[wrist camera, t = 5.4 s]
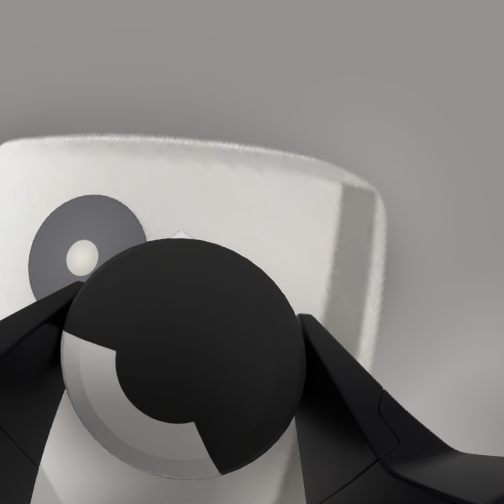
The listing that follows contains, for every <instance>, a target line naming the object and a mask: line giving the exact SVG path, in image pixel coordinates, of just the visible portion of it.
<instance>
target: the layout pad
mask: <svg viewBox="0 0 504 504" xmlns="http://www.w3.org/2000/svg"><path fill="white" fill-rule="evenodd" d="M145 242H146V238H145V234H144V231H143V229H142V226H141V225H140V223H139V221H138V219H137V218H136V216H135V215H134V214H133V212H132V211H131V210H130V209H129V208H128V207H127V206H125V205H124V204H122V203H121V202H119V201H117V200H115V199H113V198H110V197H107V196H102V195H85V196H81V197H77V198H74V199H72V200H69V201H68V202H66V203H64V204H62V205H61V206H59V207H58V208H57V209H55V210H54V211H53V212H52V213H51V214H50V215H49V216H48V217H47V218H46V220H45V221H44V222H43V224H42V225H41V227H40V228H39V230H38V232H37V234H36V236H35V238H34V240H33V243H32V246H31V250H30V255H29V264H28V270H29V280H30V285H31V289H32V291H33V294H34V296H35V298H36V300H37V301H38V300H40V299H42V298H44V297H46V296H48V295H50V294H52V293H54V292H56V291H58V290H60V289H62V288H64V287H66V286H68V285H70V284H72V283H74V282H76V281H83V282H86V280H87V279H88V278H89V277H90V276H91V275H92V273H93V272H94V271H96V270H97V269H98V268H99V267H100V266H101V265H102V264H104V263H105V262H106V261H107V260H109V259H111V258H112V257H114V256H115V255H117V254H118V253H120V252H122V251H124V250H126V249H128V248H131V247H133V246H135V245H139V244H142V243H145Z"/></svg>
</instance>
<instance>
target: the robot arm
mask: <svg viewBox="0 0 504 504" xmlns="http://www.w3.org/2000/svg"><path fill="white" fill-rule="evenodd" d="M84 283H85V282H83V281H76V282H74V283H72V284H70V285H68V286H66V287H64V288H62V289H60V290H58V291H56V292H54V293H52V294H50V295H48V296H46V297H44V298H42V299H40V300H38V301H36V302H34V303H32V304H30V305H29V306H27V307H25V308H23V309H21V310H19V311H17V312H15V313H14V314H12V315H10V316H8V317H6V318H4V319H2V320H1V321H0V504H30V502H31V498H32V493H33V489H34V485H35V481H36V477H37V473H38V470H39V468H38V467H39V466H40V462H41V459H42V455H43V452H44V448H45V445H46V442H47V439H48V436H49V433H50V430H51V427H52V424H53V421H54V418H55V415H56V412H57V409H58V407H59V404H60V401H61V399H62V396H63V393H64V391H65V388H66V387H65V383H64V380H63V374H62V367H61V340H62V333H63V328H64V324H65V320H66V317H67V313H68V311H69V309H70V307H71V304H72V302H73V300H74V298H75V296H76V295H77V293H78V292H79V290H80V288H81V287H82V285H83V284H84ZM296 318H297V320H298V323H299V325H300V328H301V332H302V336H303V340H304V344H305V354H306V378H305V384H304V389H303V394H302V397H301V400H300V403H299V406H298V409H297V411H296V413H295V415H294V416H295V423H296V430H297V437H298V444H299V451H300V459H301V466H302V474H303V482H304V489H305V497H306V504H504V457H499V456H487V455H477V454H468V453H463V452H460V451H458V450H455V449H454V448H452V447H450V446H449V445H447V444H446V443H445V442H443V441H442V440H441V439H440V438H439V437H437V436H436V435H435V434H434V433H432V432H431V431H430V430H429V429H428V428H426V427H425V426H424V425H423V424H422V423H420V422H419V421H418V420H417V419H416V418H415V417H413V416H412V415H411V414H410V413H409V412H408V411H407V410H405V409H404V408H403V407H402V406H401V405H400V404H399V403H398V402H397V401H396V400H395V399H394V398H393V397H392V396H391V395H390V394H389V393H388V392H387V391H386V390H385V389H384V390H383V387H382V386H381V385H380V384H379V383H378V382H377V381H376V380H375V379H374V378H373V377H372V376H371V375H370V374H369V373H368V372H367V371H366V370H365V369H364V368H363V367H362V366H361V365H360V364H359V362H358V361H357V360H356V359H355V358H354V357H353V356H352V355H351V354H350V353H349V352H348V351H347V350H346V349H345V348H344V347H343V346H342V345H341V344H340V343H339V342H338V341H337V340H336V339H335V338H334V337H333V336H332V335H331V334H330V333H329V332H328V331H327V330H326V329H325V328H324V327H323V326H322V325H321V324H320V323H319V322H318V321H317V320H316V319H315V318H314V317H313V316H312V315H310V314H301V313H299V314H298V315H297V316H296Z"/></svg>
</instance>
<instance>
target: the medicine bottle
mask: <svg viewBox="0 0 504 504" xmlns="http://www.w3.org/2000/svg"><path fill="white" fill-rule="evenodd" d="M61 367H62V374H63V380H64V383H65V387H66V390H67V393H68V396H69V399H70V401H71V403H72V405H73V407H74V410H75V412H76V413H77V415H78V417H79V418H80V420H81V421H82V423H83V425H84V426H85V427H86V428H87V430H88V431H89V432H90V433H91V435H92V436H93V437H94V438H95V439H96V440H97V441H98V442H99V443H100V444H101V445H102V446H103V447H104V448H105V449H107V450H108V451H109V452H110V453H112V454H113V455H115V456H116V457H117V458H119V459H120V460H122V461H124V462H125V463H127V464H129V465H131V466H133V467H135V468H137V469H139V470H142V471H145V472H148V473H150V474H153V475H157V476H162V477H166V478H172V479H185V480H193V479H206V478H211V477H216V476H221V475H224V474H227V473H230V472H233V471H235V470H238V469H240V468H242V467H244V466H246V465H248V464H249V463H251V462H253V461H255V460H256V459H257V458H259V457H260V456H261V455H263V454H264V453H265V452H267V451H268V450H269V449H270V448H271V447H272V446H273V445H274V444H275V443H276V442H277V441H278V440H279V438H280V437H281V436H282V434H283V433H284V432H285V430H286V429H287V428H288V426H289V425H290V423H291V421H292V419H293V417H294V415H295V413H296V411H297V409H298V406H299V403H300V400H301V397H302V394H303V389H304V384H305V378H306V354H305V344H304V340H303V336H302V332H301V328H300V325H299V323H298V320H297V318H296V315H295V313H294V311H293V309H292V307H291V305H290V304H289V302H288V300H287V298H286V297H285V295H284V294H283V293H282V291H281V290H280V289H279V287H278V286H277V285H276V284H275V282H274V281H273V280H272V279H271V278H270V277H269V276H268V275H267V274H266V273H265V272H264V271H263V270H262V269H260V268H259V267H258V266H256V265H255V264H254V263H252V262H251V261H250V260H248V259H247V258H245V257H243V256H241V255H240V254H238V253H236V252H234V251H232V250H230V249H227V248H225V247H222V246H220V245H217V244H214V243H210V242H206V241H202V240H196V239H194V238H193V237H191V236H190V235H189V234H188V233H186V232H184V231H178V232H177V233H175V234H174V235H173V236H172V237H171V238H166V239H160V240H154V241H148V242H145V243H142V244H139V245H135V246H133V247H131V248H128V249H126V250H124V251H122V252H120V253H118V254H117V255H115V256H114V257H112V258H111V259H109V260H107V261H106V262H105V263H104V264H102V265H101V266H100V267H99V268H98V269H97V270H96V271H94V272H93V273H92V275H91V276H90V277H89V278H88V279H87V280H86V282H85V283H84V284H83V285H82V287H81V288H80V290H79V292H78V293H77V295H76V296H75V298H74V300H73V302H72V304H71V307H70V309H69V311H68V313H67V317H66V320H65V324H64V328H63V333H62V340H61Z"/></svg>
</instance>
